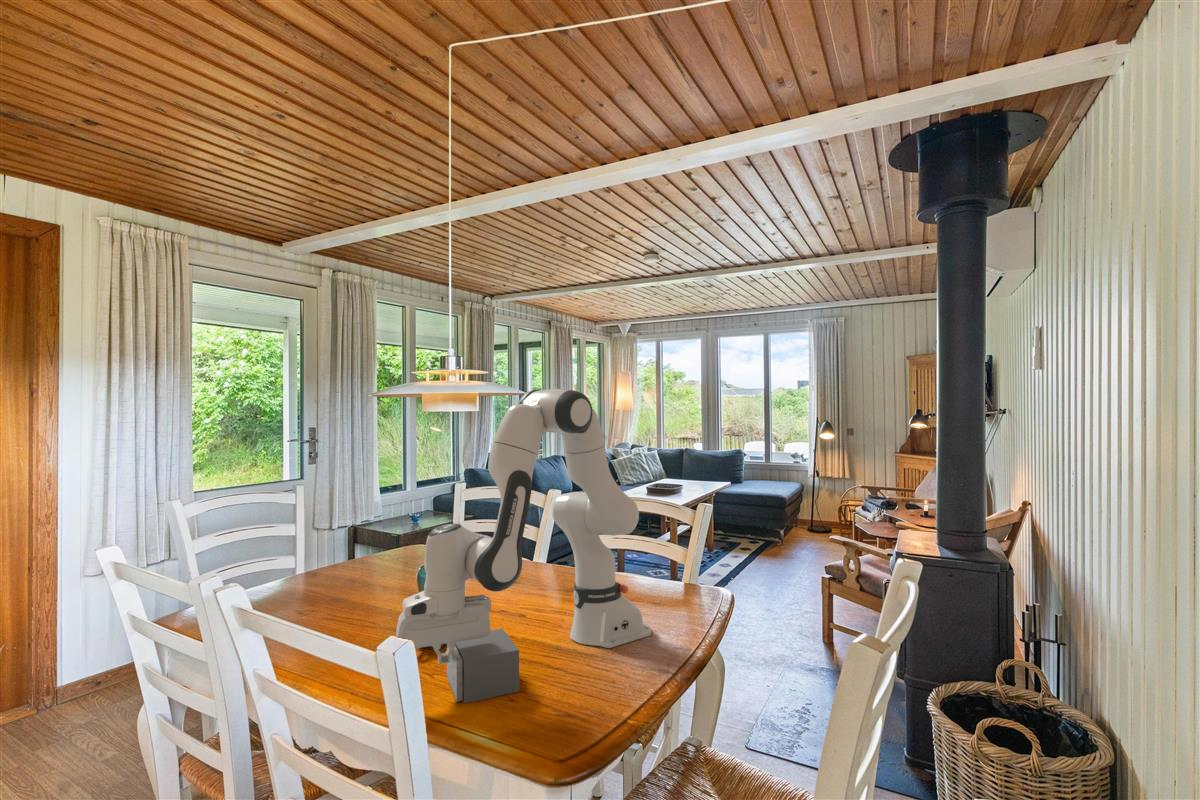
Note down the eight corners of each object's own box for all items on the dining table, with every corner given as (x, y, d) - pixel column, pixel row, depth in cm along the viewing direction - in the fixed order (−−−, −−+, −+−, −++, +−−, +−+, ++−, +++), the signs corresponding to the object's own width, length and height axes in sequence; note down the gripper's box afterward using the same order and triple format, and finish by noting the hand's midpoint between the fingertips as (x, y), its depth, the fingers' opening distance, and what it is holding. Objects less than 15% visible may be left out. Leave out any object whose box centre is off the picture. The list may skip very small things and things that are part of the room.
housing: (502, 665, 137) (502, 628, 137) (519, 691, 124) (519, 650, 124) (452, 675, 132) (452, 636, 132) (464, 703, 119) (464, 660, 119)
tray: (497, 667, 135) (497, 631, 136) (511, 689, 124) (511, 650, 124) (446, 677, 130) (446, 640, 131) (456, 701, 119) (456, 661, 119)
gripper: (487, 589, 132) (487, 649, 131) (395, 600, 124) (394, 664, 123) (494, 597, 126) (493, 659, 126) (397, 609, 118) (396, 677, 117)
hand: (443, 662), depth 124 cm, fingers closed
